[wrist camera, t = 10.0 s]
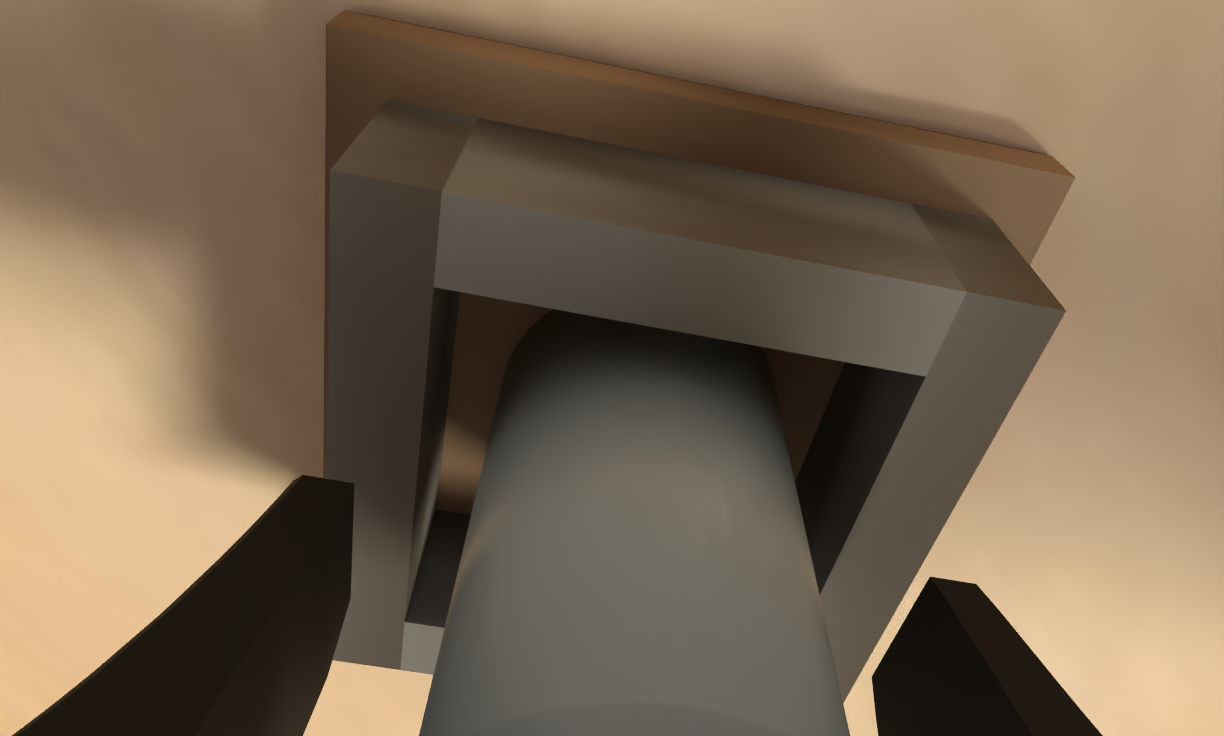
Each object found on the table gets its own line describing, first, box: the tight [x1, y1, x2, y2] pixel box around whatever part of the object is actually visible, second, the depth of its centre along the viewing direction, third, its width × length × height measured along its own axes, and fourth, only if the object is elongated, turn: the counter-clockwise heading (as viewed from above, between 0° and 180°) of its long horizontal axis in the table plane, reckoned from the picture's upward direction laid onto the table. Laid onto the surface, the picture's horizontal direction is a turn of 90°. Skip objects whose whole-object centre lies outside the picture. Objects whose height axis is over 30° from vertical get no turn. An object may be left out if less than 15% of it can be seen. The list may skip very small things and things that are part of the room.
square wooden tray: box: [324, 11, 1075, 703], centre depth 13 cm, size 10×10×3 cm
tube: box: [419, 309, 850, 736], centre depth 11 cm, size 4×4×7 cm
